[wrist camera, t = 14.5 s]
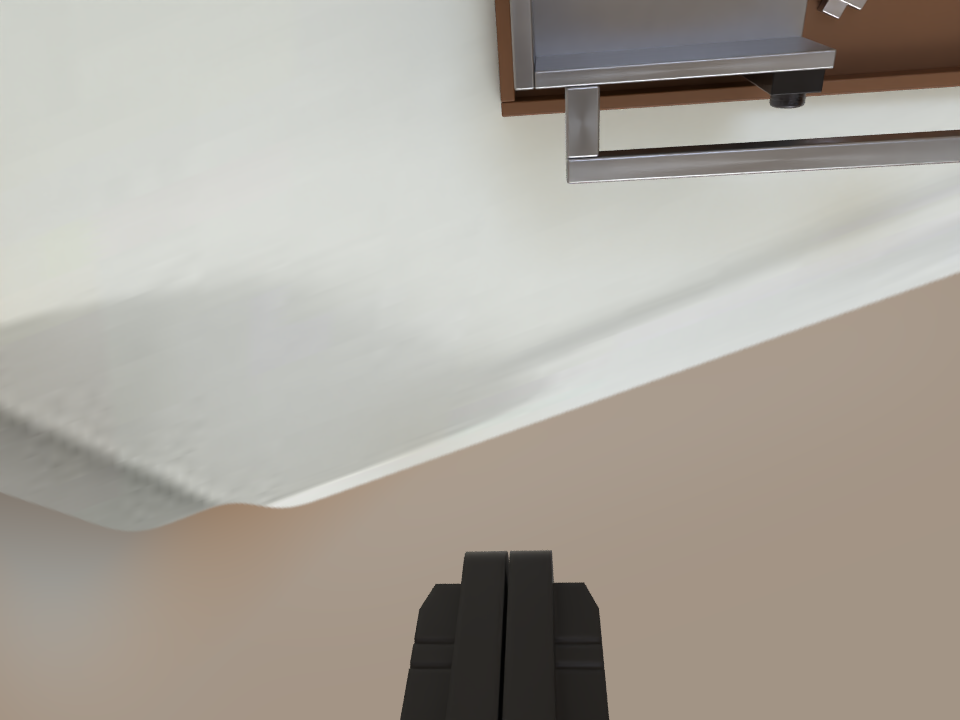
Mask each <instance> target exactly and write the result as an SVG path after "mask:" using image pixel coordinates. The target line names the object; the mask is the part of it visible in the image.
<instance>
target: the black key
mask: <svg viewBox="0 0 960 720" xmlns="http://www.w3.org/2000/svg"><path fill="white" fill-rule="evenodd" d="M866 1H867V0H822V2H821V4H820V5H819V7H818V9H817V10H818V11H820V12H822V13H824V14H826V15H828V16H831V17H833V18H836V19H839V18H840V16H841V15H842V13H843V11H844V10H845V8H846V6H849V7H851V8H853V9H856V10H861V9H862V8H863V6H864V5H865V3H866Z"/></svg>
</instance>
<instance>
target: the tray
mask: <svg viewBox="0 0 960 720" xmlns="http://www.w3.org/2000/svg"><path fill="white" fill-rule="evenodd" d="M821 2H822V0H808V1H807V8H806V15H805V21H804V28H803V35H802V37H804V38H806V39H809V40H812V41H814V42H817V43H820V44H822V45H825V46H828V47H830V48H833V49H836V57H835V63H834V67H833V68H828V69H825V75H824V81H823V87H822V92H820V93H806V96H821V95H836V94H851V93H866V92H881V91H896V90H911V89H926V88H941V87H956V86H960V0H867V1H866V3H865V5H864V6H863V8H862V9H861V10H856V9H853V8H851V7H849V6H846V8H845V10H844V11H843V13H842V15H841V16H840V18H839V19H836V18H833V17H831V16H828V15H826V14H824V13H822V12H820V11H818V10H817V9H818V7H819V5H820V4H821ZM495 11H496V27H497V43H498V59H499V76H500V92H501V101H502V103H501V108H502V116H503V117H508V116H523V115H537V114H552V113H565V87H559V88H545V89H535V87H534V89H530V90H515V88H514V72H513V52H512V33H511V13H510V0H495ZM599 87H600V110H612V109H627V108H642V107H657V106H672V105H687V104H702V103H717V102H732V101H747V100H761V99H770V94H768V93H767V92H765V91H764V90H762V89H761V88H759V87H758V86H756V85H755V84H753V83H752V82H750V81H749V80H747V79H746V78H744V77H743V76H741V75H729V76H715V77H701V78H686V79H672V80H658V81H644V82H630V83H615V84H601V85H599Z"/></svg>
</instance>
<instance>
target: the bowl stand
mask: <svg viewBox="0 0 960 720" xmlns="http://www.w3.org/2000/svg"><path fill="white" fill-rule="evenodd" d="M824 75H825V69H814V70H800V71H786V72H771V73H757V74H743V75H741V76H743V77H744V78H746V79H747V80H749V81H750V82H752V83H753V84H755V85H756V86H758V87H759V88H761V89H762V90H764V91H765V92H767V93H768V94H770V105H771V106H772V107H776V108H797V107H800V106H803V105H804V103H805V98H806V93H820V92H822V87H823V81H824Z"/></svg>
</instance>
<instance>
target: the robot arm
mask: <svg viewBox="0 0 960 720" xmlns="http://www.w3.org/2000/svg"><path fill="white" fill-rule="evenodd" d="M509 559H510V560H509ZM552 563H553V562H552V551H510V558H509V557H508V552H507V551H497V552H496V551H491V552H466V553H465V557H464V564H463V572H462V581H461V584H436V585H435V586H434V588H433V589H432V591H431V592H430V594H429V595H428V597H427V599H426V600H425V602H424V603H423V605H422V607H421V608H420V609H419V615H418V621H417V627H416V633H415V638H414V639H415V643H414V645H413V650H412V655H411V661H410V669H409V673H408V678H407V684H406V690H405V696H404V702H403V707H402V713H401V719H400V720H609V714H608V703H607V692H606V681H605V670H604V661H603V649H602V637H601V628H600V627H601V626H600V616H599V608H598V606H597V604H596V603H595V601H594V599H593V597H592V596H591V594H590V593H589V591H588V589H587V587H586V585H585V584H584V583H554V581H553V580H554V579H553V564H552Z"/></svg>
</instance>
